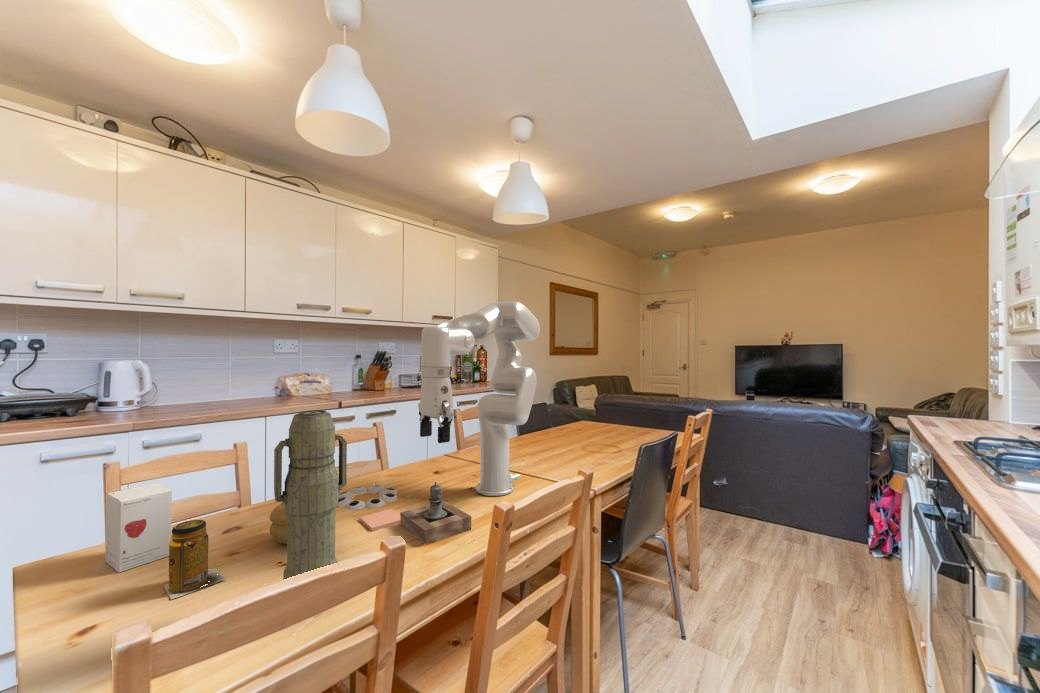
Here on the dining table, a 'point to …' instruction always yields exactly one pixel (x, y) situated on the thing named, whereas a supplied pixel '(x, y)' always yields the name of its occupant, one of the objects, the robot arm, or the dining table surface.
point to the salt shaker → (435, 505)
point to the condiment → (189, 560)
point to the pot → (279, 524)
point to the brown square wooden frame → (435, 523)
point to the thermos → (310, 490)
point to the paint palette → (368, 504)
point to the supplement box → (138, 526)
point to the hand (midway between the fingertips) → (434, 439)
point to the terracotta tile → (380, 519)
